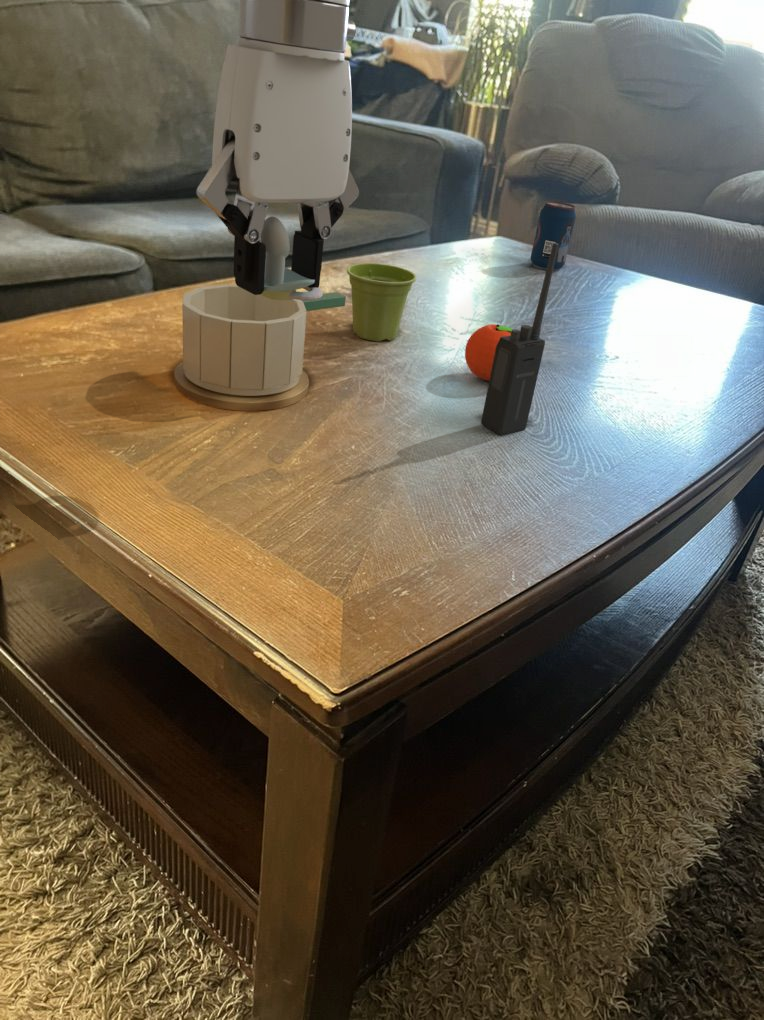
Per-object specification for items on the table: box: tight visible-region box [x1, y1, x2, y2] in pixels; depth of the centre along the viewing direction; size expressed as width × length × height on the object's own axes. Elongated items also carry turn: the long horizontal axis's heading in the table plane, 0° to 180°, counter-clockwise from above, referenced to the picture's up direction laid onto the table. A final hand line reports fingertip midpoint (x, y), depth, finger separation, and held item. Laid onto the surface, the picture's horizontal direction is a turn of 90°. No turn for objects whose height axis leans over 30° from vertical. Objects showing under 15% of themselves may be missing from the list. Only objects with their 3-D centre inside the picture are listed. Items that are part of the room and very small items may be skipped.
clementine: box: [464, 323, 514, 382], centre depth 97 cm, size 8×7×7 cm
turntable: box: [173, 360, 310, 412], centre depth 88 cm, size 15×15×1 cm
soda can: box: [530, 200, 577, 272], centre depth 153 cm, size 7×7×12 cm
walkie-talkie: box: [480, 243, 559, 437], centre depth 82 cm, size 5×3×20 cm
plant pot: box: [346, 262, 417, 342], centre depth 106 cm, size 9×9×9 cm
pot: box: [181, 283, 347, 396], centre depth 88 cm, size 13×20×8 cm, turn 132°
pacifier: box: [260, 215, 324, 301], centre depth 63 cm, size 7×6×6 cm
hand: (277, 284), depth 64 cm, fingers closed on pacifier, 4 cm apart
